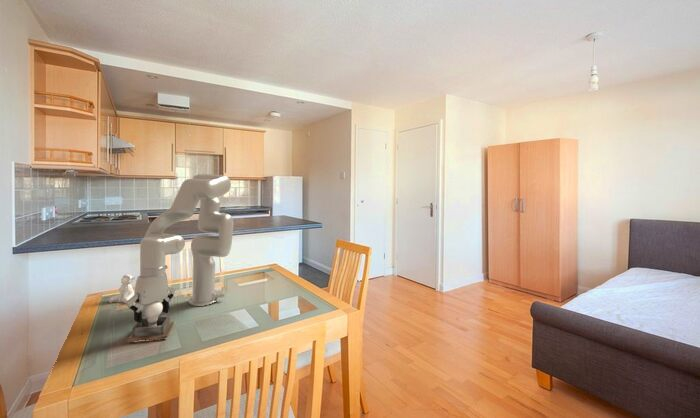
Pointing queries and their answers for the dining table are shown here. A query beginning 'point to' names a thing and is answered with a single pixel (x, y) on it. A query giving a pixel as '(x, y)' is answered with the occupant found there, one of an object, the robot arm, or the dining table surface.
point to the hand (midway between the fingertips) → (152, 316)
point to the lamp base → (151, 330)
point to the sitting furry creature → (124, 290)
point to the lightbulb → (152, 312)
